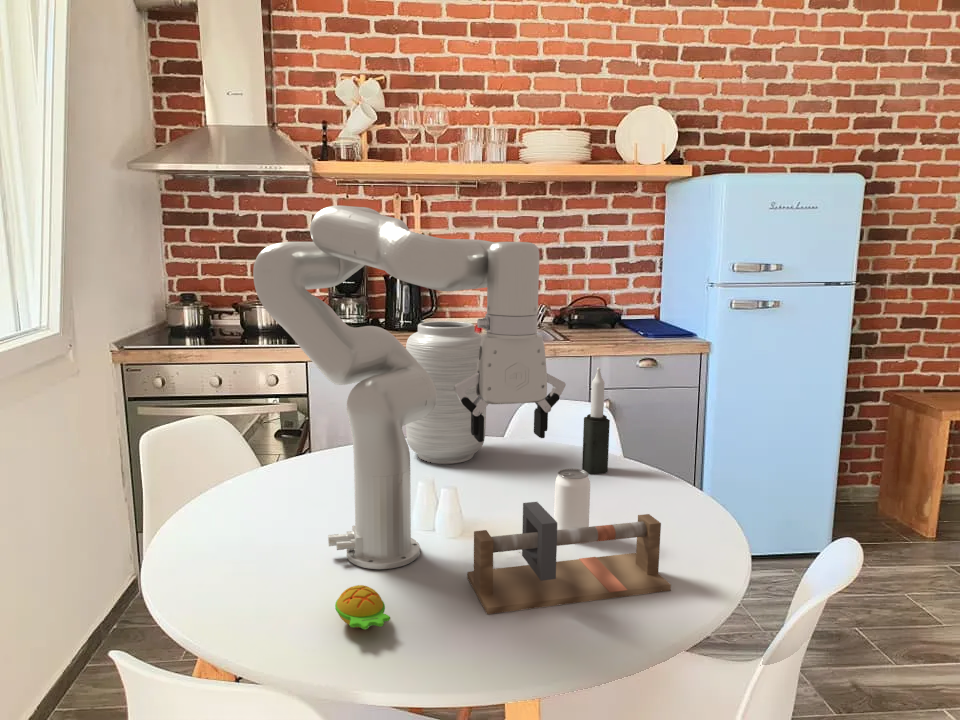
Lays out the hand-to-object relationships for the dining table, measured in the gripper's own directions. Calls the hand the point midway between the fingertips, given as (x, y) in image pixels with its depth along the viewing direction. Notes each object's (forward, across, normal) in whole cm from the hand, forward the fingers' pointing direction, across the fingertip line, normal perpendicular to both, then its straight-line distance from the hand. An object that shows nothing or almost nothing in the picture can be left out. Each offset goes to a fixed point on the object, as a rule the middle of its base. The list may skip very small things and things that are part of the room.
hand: (509, 437), depth 110 cm
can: (+25, +18, +17) cm, 35 cm away
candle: (+25, +38, +51) cm, 68 cm away
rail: (+24, +10, -1) cm, 26 cm away
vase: (+25, +6, +71) cm, 75 cm away
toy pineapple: (+25, -23, -6) cm, 34 cm away
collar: (+21, +5, -1) cm, 22 cm away
